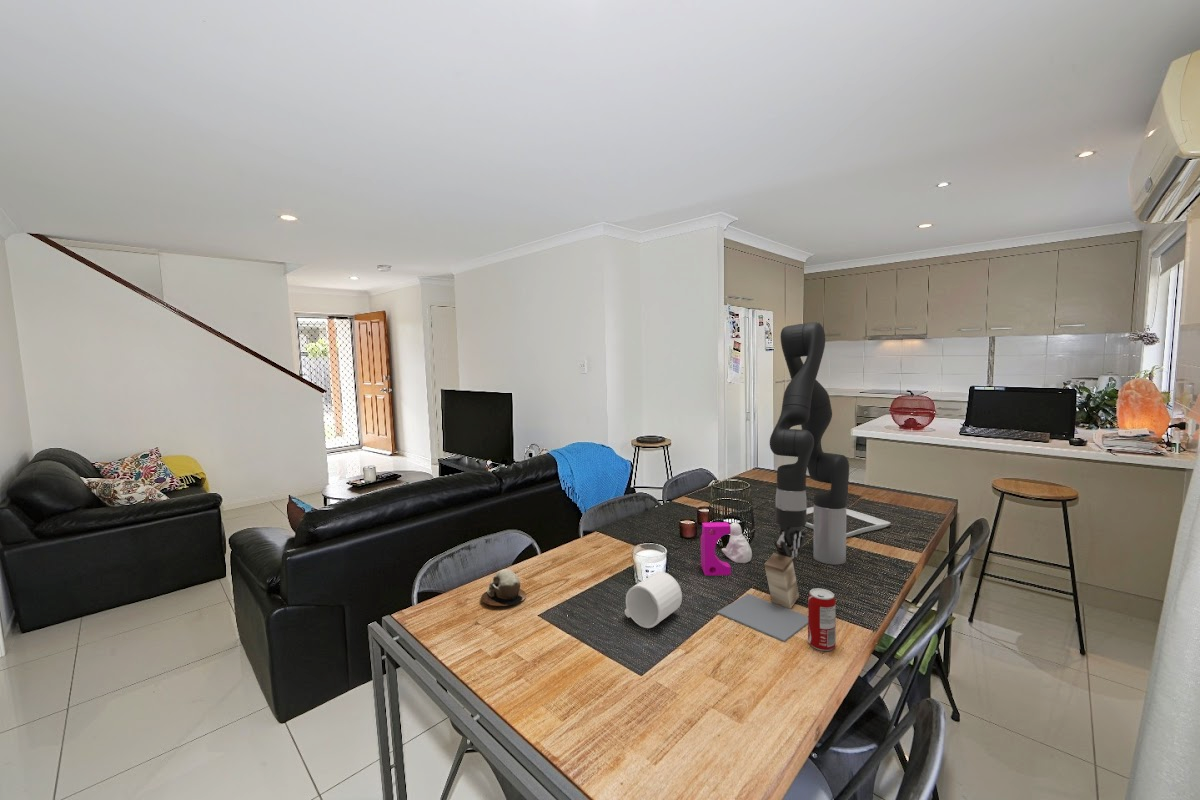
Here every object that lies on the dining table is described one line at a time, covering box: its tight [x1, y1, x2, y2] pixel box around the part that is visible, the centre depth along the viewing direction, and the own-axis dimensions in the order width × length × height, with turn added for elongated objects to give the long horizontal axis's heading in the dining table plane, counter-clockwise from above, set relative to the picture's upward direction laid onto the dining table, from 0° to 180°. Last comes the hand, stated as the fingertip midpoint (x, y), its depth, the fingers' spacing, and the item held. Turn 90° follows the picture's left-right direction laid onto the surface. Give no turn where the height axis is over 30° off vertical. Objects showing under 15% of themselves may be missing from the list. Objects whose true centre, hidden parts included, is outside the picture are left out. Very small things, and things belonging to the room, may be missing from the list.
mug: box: [624, 571, 683, 629], centre depth 123 cm, size 13×10×10 cm
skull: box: [480, 568, 527, 607], centre depth 136 cm, size 12×10×10 cm
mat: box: [716, 593, 808, 643], centre depth 122 cm, size 14×18×1 cm
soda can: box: [807, 587, 837, 652], centre depth 109 cm, size 6×6×12 cm
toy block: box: [700, 521, 732, 576], centre depth 148 cm, size 15×6×8 cm
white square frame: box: [804, 506, 891, 538], centre depth 187 cm, size 27×27×4 cm
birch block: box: [764, 552, 800, 610], centre depth 128 cm, size 5×5×12 cm
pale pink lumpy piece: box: [721, 522, 753, 564], centre depth 156 cm, size 6×8×12 cm
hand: (790, 570), depth 130 cm, fingers closed
